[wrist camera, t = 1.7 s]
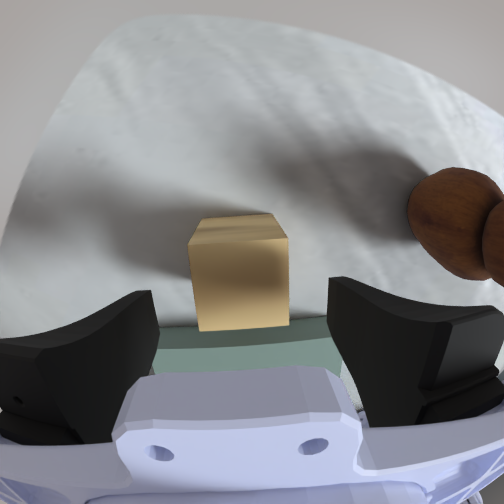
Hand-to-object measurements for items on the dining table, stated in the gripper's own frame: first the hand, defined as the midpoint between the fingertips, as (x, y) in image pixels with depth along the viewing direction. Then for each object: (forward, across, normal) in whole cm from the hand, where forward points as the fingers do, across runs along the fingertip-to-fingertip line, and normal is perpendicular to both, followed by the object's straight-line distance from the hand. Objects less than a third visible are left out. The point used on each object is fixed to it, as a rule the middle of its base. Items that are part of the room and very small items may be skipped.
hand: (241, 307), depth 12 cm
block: (+8, 0, 0) cm, 8 cm away
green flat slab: (+8, 0, +11) cm, 14 cm away
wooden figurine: (+8, -14, -2) cm, 16 cm away
